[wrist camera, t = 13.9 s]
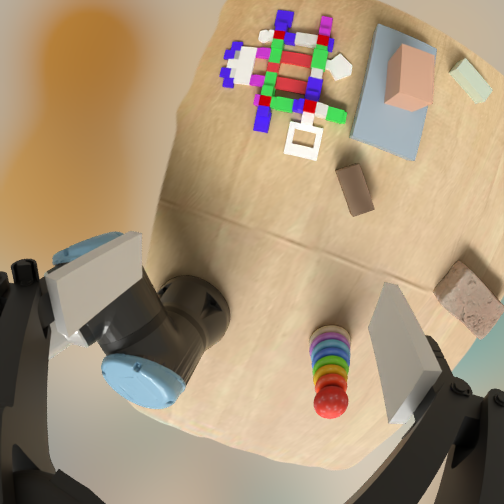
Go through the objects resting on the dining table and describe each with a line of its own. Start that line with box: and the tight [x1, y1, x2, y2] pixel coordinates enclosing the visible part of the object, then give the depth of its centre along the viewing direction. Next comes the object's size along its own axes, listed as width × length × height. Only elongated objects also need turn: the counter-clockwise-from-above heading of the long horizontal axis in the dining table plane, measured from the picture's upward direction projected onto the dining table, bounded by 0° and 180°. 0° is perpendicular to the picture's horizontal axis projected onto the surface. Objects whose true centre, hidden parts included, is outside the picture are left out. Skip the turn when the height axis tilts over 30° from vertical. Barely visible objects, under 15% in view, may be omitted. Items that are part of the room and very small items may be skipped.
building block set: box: [220, 10, 352, 161], centre depth 36 cm, size 25×20×4 cm
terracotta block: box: [384, 44, 435, 112], centre depth 28 cm, size 4×7×8 cm, turn 172°
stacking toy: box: [309, 325, 351, 419], centre depth 42 cm, size 8×8×19 cm
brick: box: [433, 261, 504, 339], centre depth 40 cm, size 17×8×5 cm, turn 59°
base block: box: [349, 24, 437, 161], centre depth 33 cm, size 10×20×4 cm, turn 165°
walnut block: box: [335, 163, 375, 217], centre depth 40 cm, size 4×7×4 cm, turn 23°
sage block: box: [449, 58, 493, 104], centre depth 29 cm, size 4×7×4 cm, turn 51°
